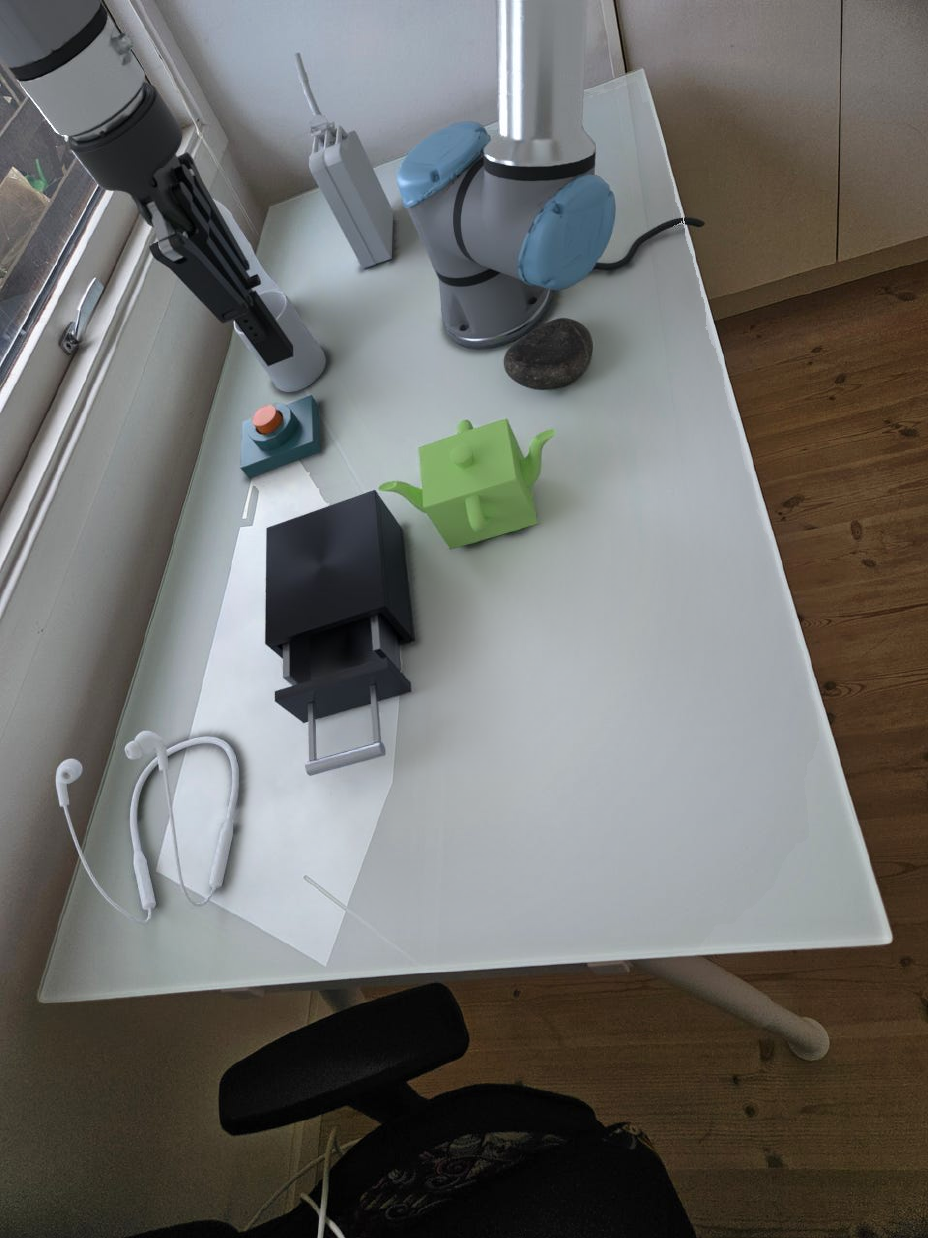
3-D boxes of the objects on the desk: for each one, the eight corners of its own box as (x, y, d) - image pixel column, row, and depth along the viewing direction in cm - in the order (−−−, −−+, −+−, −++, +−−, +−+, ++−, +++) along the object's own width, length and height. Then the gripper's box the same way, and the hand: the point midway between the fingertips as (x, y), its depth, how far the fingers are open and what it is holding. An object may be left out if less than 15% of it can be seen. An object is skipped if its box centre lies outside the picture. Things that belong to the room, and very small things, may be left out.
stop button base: (319, 405, 113) (305, 385, 110) (321, 451, 108) (306, 431, 105) (250, 431, 116) (234, 412, 113) (249, 478, 111) (232, 459, 108)
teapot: (577, 485, 91) (554, 421, 82) (514, 580, 87) (482, 524, 79) (472, 451, 99) (440, 389, 90) (410, 537, 96) (371, 481, 87)
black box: (415, 641, 88) (385, 605, 82) (302, 675, 91) (264, 644, 85) (403, 529, 97) (375, 489, 90) (300, 563, 100) (266, 527, 93)
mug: (323, 384, 115) (283, 325, 106) (271, 398, 118) (227, 341, 109) (332, 326, 121) (295, 265, 112) (282, 341, 124) (242, 282, 115)
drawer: (418, 761, 80) (394, 739, 75) (304, 791, 82) (274, 772, 78) (400, 578, 92) (378, 550, 87) (301, 610, 95) (274, 584, 90)
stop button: (282, 410, 110) (275, 401, 108) (282, 429, 108) (275, 420, 106) (259, 419, 111) (252, 410, 109) (258, 438, 109) (251, 429, 107)
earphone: (100, 948, 78) (23, 778, 77) (183, 869, 95) (120, 728, 93) (222, 909, 76) (146, 733, 74) (285, 835, 92) (224, 689, 90)
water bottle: (299, 301, 128) (204, 151, 107) (282, 334, 125) (180, 187, 105) (264, 304, 131) (164, 158, 111) (246, 337, 128) (140, 193, 108)
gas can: (365, 212, 134) (287, 54, 113) (393, 202, 132) (318, 39, 112) (362, 271, 126) (277, 112, 106) (391, 260, 124) (311, 97, 104)
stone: (515, 344, 105) (504, 314, 101) (597, 327, 102) (588, 295, 98) (510, 410, 100) (498, 381, 96) (596, 393, 96) (587, 363, 92)
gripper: (142, 133, 53) (317, 388, 72) (158, 44, 60) (314, 298, 79) (48, 179, 55) (244, 417, 74) (75, 88, 62) (247, 326, 81)
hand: (280, 355), depth 77 cm, fingers closed
